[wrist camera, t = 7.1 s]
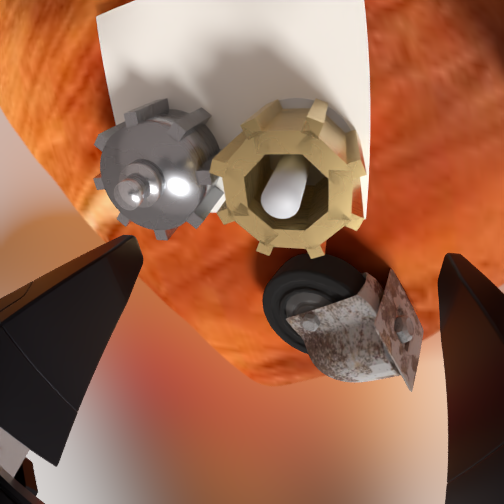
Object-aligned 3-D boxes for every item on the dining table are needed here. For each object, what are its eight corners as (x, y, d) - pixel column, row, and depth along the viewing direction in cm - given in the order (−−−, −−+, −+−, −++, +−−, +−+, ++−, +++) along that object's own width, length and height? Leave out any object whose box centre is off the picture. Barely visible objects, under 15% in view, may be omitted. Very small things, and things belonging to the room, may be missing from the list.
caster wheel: (269, 260, 28) (367, 211, 21) (334, 352, 29) (429, 328, 23) (227, 306, 23) (343, 260, 16) (308, 405, 25) (418, 392, 18)
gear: (222, 90, 16) (178, 110, 12) (240, 212, 21) (210, 265, 17) (112, 109, 18) (55, 136, 14) (139, 211, 23) (96, 254, 19)
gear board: (357, -28, 11) (367, -73, 5) (364, 207, 20) (369, 283, 14) (109, 16, 15) (26, 24, 10) (148, 202, 24) (92, 259, 18)
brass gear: (360, 99, 15) (367, 118, 11) (358, 211, 18) (359, 261, 15) (236, 101, 16) (200, 122, 12) (249, 206, 20) (224, 253, 16)
